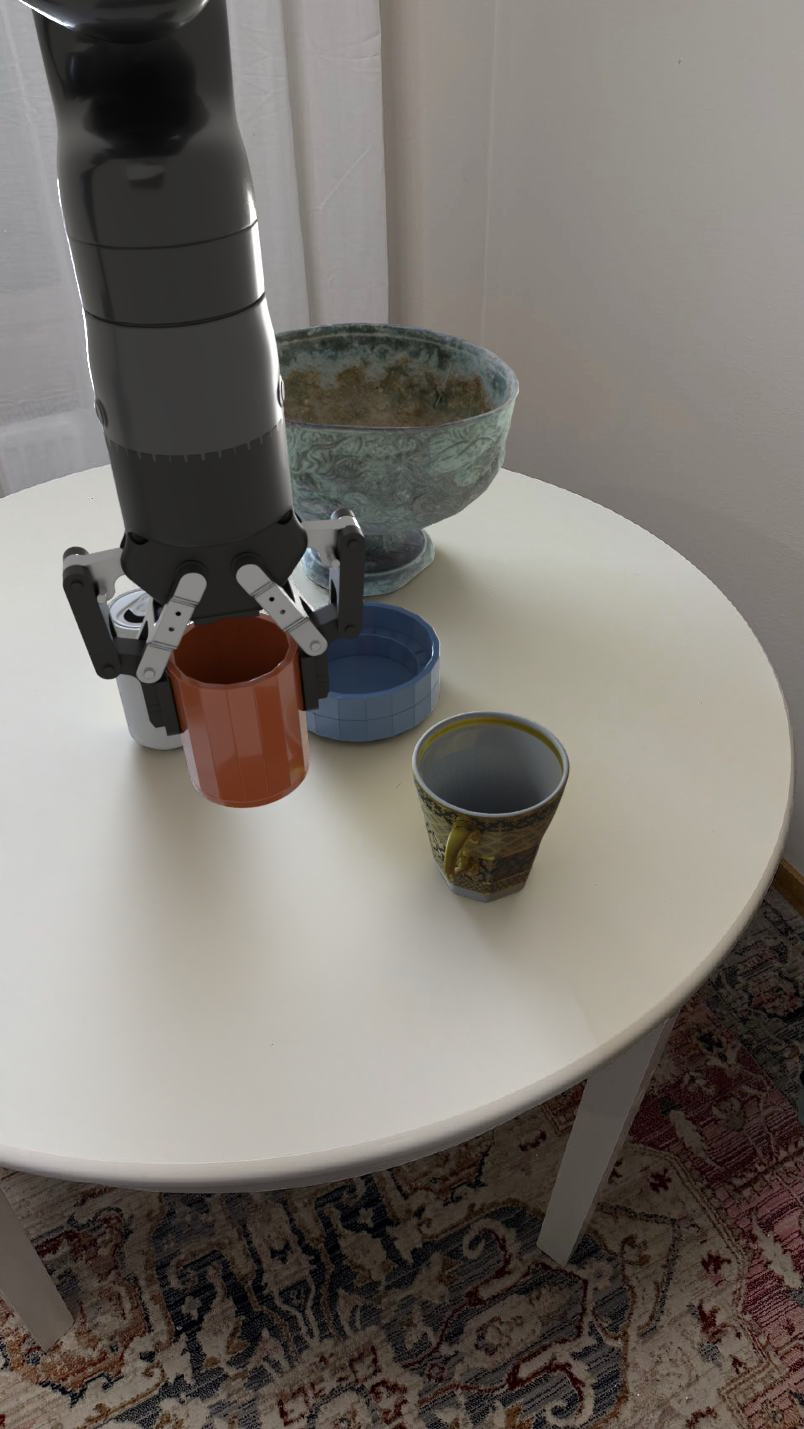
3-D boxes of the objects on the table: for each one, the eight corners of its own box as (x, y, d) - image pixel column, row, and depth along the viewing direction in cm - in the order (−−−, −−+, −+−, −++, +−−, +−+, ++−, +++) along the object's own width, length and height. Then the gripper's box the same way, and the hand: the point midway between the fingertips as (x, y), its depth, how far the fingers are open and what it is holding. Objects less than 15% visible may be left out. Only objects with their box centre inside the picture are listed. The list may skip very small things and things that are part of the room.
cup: (196, 819, 52) (170, 699, 47) (185, 738, 57) (160, 622, 52) (319, 795, 53) (307, 676, 48) (298, 718, 58) (285, 602, 53)
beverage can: (116, 749, 80) (83, 625, 72) (150, 699, 85) (123, 578, 77) (191, 761, 79) (165, 637, 71) (221, 709, 84) (200, 588, 76)
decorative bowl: (185, 547, 103) (159, 353, 90) (375, 472, 116) (378, 294, 103) (349, 672, 88) (348, 463, 75) (546, 571, 101) (574, 378, 88)
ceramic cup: (441, 799, 75) (442, 696, 69) (571, 834, 72) (586, 729, 66) (374, 930, 66) (369, 825, 60) (521, 976, 63) (532, 871, 57)
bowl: (298, 760, 79) (293, 711, 76) (271, 662, 89) (265, 615, 85) (459, 730, 81) (460, 681, 78) (415, 637, 91) (415, 591, 88)
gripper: (343, 356, 46) (360, 649, 57) (16, 393, 43) (99, 693, 54) (381, 423, 40) (392, 735, 51) (9, 470, 38) (103, 787, 49)
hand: (241, 712), depth 53 cm, fingers closed on cup, 6 cm apart
